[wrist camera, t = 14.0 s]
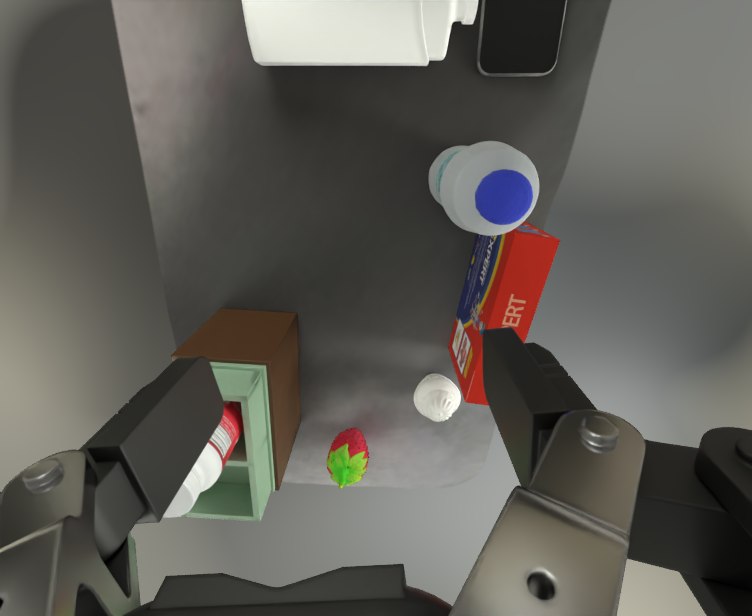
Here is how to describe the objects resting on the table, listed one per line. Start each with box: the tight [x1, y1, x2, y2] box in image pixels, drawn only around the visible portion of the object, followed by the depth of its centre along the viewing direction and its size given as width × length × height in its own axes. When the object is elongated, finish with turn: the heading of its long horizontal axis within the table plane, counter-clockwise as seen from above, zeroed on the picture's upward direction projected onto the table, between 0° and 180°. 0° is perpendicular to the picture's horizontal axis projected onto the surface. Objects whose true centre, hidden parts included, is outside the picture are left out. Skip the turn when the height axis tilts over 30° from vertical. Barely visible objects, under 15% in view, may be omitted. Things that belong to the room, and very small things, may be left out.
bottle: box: [429, 141, 539, 236], centre depth 31 cm, size 7×7×20 cm
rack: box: [171, 308, 300, 522], centre depth 44 cm, size 18×10×17 cm, turn 177°
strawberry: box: [327, 428, 369, 489], centre depth 51 cm, size 6×7×10 cm
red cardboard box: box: [448, 221, 560, 405], centre depth 40 cm, size 18×4×12 cm, turn 172°
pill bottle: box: [163, 401, 244, 517], centre depth 33 cm, size 6×6×11 cm
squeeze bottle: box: [242, 0, 478, 66], centre depth 32 cm, size 10×20×5 cm, turn 89°
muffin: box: [414, 373, 461, 422], centre depth 48 cm, size 6×6×7 cm
